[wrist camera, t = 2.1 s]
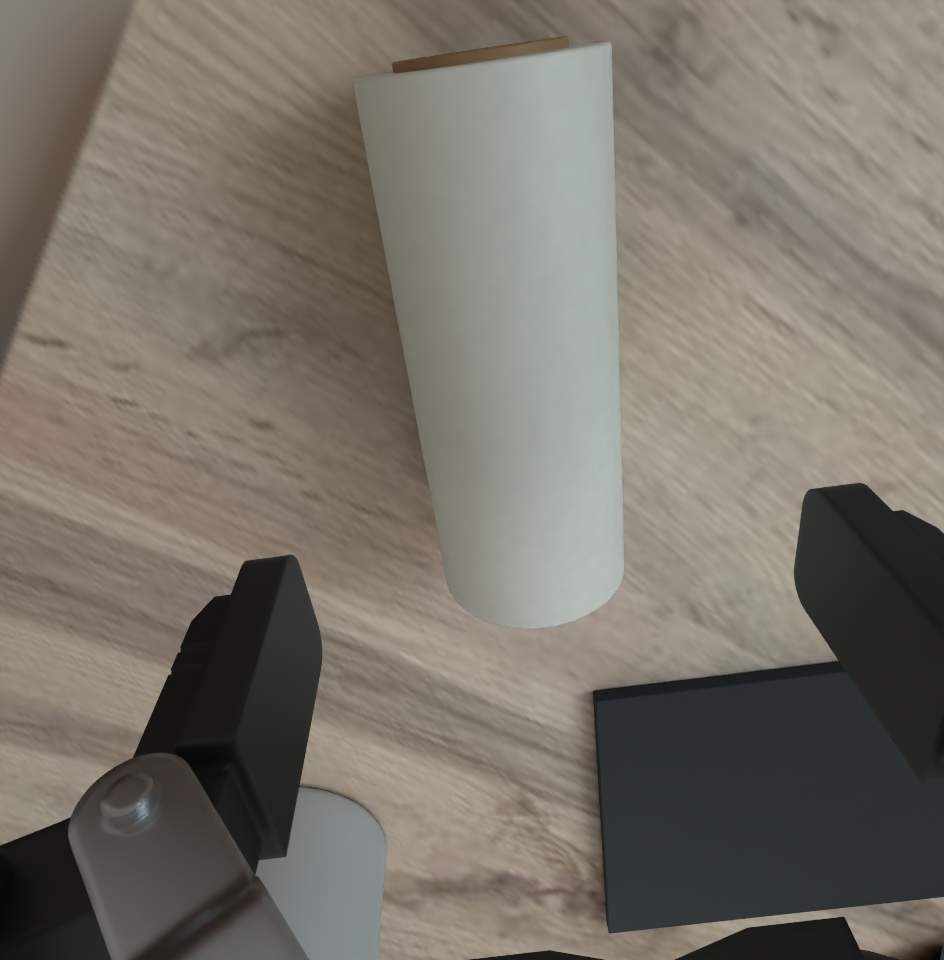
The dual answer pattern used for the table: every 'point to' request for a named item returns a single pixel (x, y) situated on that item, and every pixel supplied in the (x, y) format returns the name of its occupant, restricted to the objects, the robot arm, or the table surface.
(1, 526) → the table surface
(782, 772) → the mat
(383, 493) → the table surface
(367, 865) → the mug
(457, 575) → the towel roll
